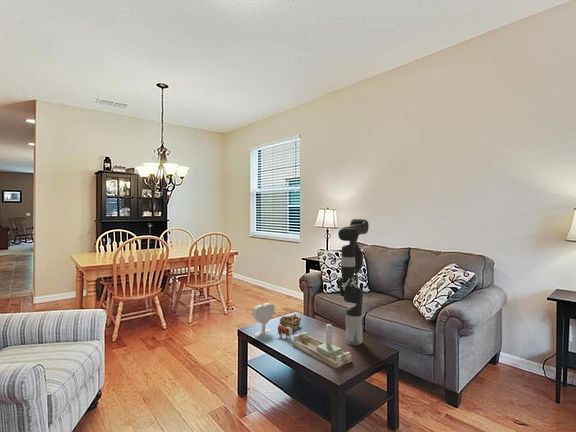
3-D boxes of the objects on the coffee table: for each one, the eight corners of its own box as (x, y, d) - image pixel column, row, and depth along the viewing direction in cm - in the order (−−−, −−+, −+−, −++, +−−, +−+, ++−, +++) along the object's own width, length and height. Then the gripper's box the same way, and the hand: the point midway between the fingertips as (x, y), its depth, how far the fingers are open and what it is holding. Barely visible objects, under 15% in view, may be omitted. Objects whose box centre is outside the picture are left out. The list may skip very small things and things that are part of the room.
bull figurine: (290, 343, 189) (290, 329, 189) (276, 336, 199) (276, 323, 199) (295, 341, 192) (295, 328, 192) (281, 334, 202) (281, 321, 202)
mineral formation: (277, 326, 216) (294, 320, 226) (289, 335, 206) (306, 329, 215) (278, 315, 215) (295, 309, 224) (290, 324, 204) (307, 318, 214)
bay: (307, 341, 192) (307, 331, 192) (351, 363, 166) (351, 351, 166) (292, 346, 185) (292, 336, 184) (335, 370, 158) (335, 358, 158)
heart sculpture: (256, 336, 199) (256, 307, 198) (251, 334, 202) (251, 305, 202) (275, 330, 209) (275, 303, 209) (270, 328, 213) (270, 301, 212)
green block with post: (327, 351, 177) (328, 320, 176) (341, 357, 169) (341, 326, 168) (316, 355, 171) (316, 324, 171) (330, 362, 163) (330, 329, 163)
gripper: (351, 262, 178) (350, 291, 179) (333, 265, 169) (333, 295, 170) (362, 264, 173) (361, 294, 173) (344, 267, 164) (344, 298, 164)
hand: (347, 294), depth 171 cm, fingers open, 8 cm apart
